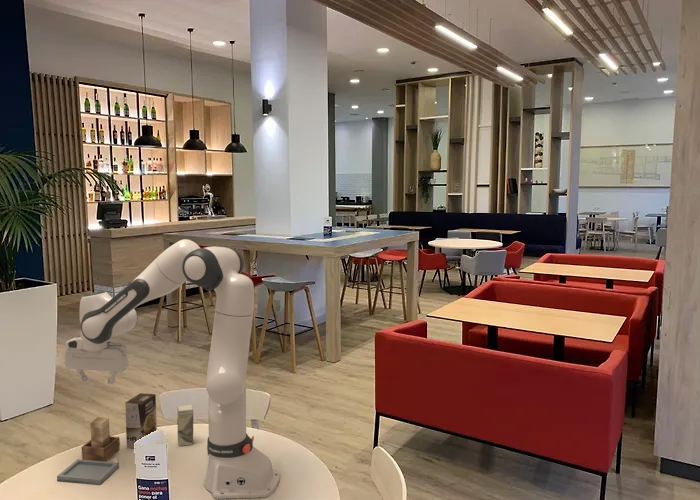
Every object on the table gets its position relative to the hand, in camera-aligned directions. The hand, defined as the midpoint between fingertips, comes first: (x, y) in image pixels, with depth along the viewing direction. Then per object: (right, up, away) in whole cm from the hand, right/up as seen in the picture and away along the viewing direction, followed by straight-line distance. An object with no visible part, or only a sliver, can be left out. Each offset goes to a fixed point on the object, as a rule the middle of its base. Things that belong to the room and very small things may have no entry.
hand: (97, 382), depth 174 cm
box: (+25, -24, +12) cm, 37 cm away
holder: (0, -25, +3) cm, 25 cm away
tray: (+1, -26, -9) cm, 28 cm away
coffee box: (+10, -24, +12) cm, 29 cm away
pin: (0, -25, +3) cm, 25 cm away
